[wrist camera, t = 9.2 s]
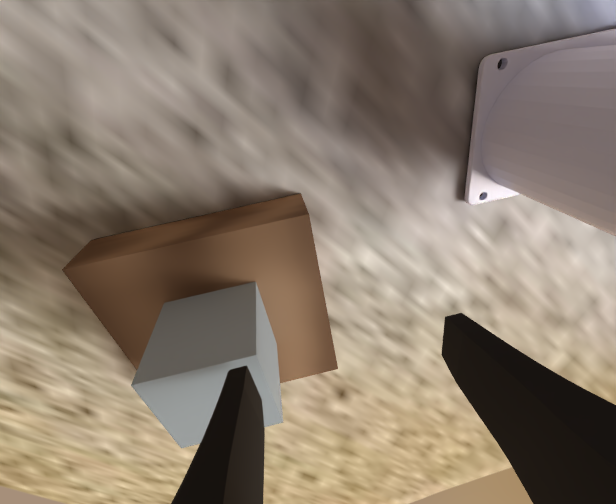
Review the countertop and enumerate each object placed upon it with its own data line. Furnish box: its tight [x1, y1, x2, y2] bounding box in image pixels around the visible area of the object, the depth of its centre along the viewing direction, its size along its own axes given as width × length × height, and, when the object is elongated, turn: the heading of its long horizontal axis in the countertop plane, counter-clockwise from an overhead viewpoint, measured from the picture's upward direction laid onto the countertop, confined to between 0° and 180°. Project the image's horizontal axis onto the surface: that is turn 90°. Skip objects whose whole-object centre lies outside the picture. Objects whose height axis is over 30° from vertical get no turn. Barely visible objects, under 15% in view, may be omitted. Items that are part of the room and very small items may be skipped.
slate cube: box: [131, 282, 283, 448], centre depth 15 cm, size 5×5×5 cm
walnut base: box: [62, 194, 338, 383], centre depth 19 cm, size 12×12×3 cm
